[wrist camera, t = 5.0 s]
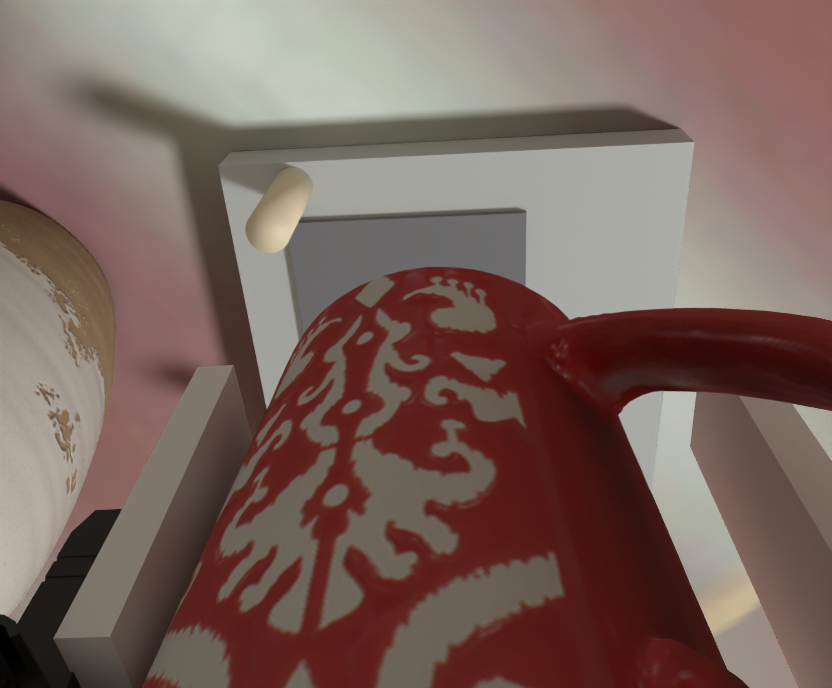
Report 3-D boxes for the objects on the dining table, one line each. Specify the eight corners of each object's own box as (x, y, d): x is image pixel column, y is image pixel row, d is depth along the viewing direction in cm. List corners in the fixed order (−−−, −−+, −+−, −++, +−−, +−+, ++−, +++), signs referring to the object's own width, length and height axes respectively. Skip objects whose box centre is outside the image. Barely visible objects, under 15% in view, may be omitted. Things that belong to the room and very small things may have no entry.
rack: (305, 544, 44) (281, 648, 38) (230, 151, 32) (177, 210, 26) (634, 540, 43) (664, 646, 37) (681, 128, 31) (736, 184, 25)
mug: (446, 599, 21) (451, 1496, 9) (169, 413, 18) (-353, 1388, 6) (864, 303, 16) (2062, 1443, 4) (574, -22, 13) (1927, 738, 1)
